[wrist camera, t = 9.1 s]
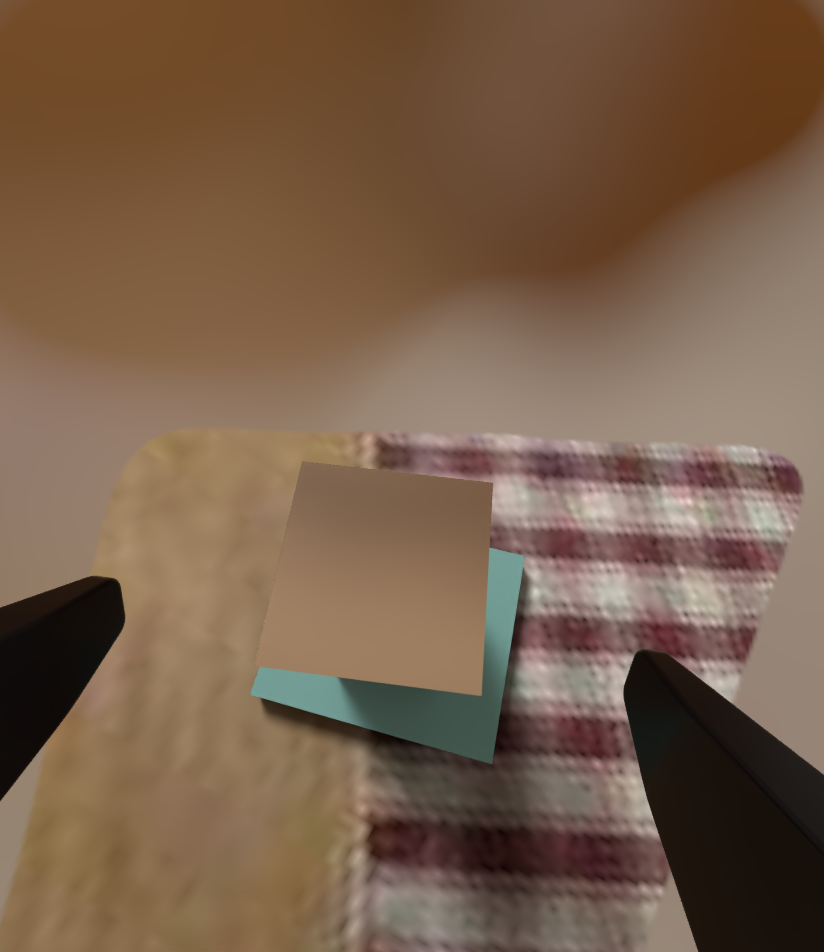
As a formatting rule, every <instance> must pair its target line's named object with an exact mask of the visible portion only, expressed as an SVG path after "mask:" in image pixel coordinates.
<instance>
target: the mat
mask: <svg viewBox="0 0 824 952" xmlns="http://www.w3.org/2000/svg"><path fill="white" fill-rule="evenodd" d="M524 558H525V556H521V555H517V554H513V553H509V552H505V551H501V550H497V549H493V548H489V566H488V584H487V603H486V621H485V640H484V658H483V677H482V695H481V696H478V695H470V694H463V693H455V692H447V691H440V690H432V689H424V688H417V687H409V686H402V685H394V684H386V683H379V682H371V681H363V680H356V679H348V678H341V677H333V676H325V675H318V674H310V673H302V672H295V671H287V670H280V669H272V668H264V667H260V668H259V671H258V674H257V677H256V680H255V683H254V685H253V688H252V691H251V694H250V695H253V696H257V697H260V698H264V699H267V700H271V701H274V702H278V703H281V704H284V705H288V706H291V707H295V708H298V709H302V710H305V711H309V712H312V713H316V714H319V715H323V716H326V717H329V718H333V719H336V720H340V721H343V722H347V723H350V724H354V725H357V726H361V727H364V728H368V729H371V730H375V731H378V732H381V733H385V734H388V735H392V736H395V737H399V738H402V739H406V740H409V741H413V742H416V743H420V744H423V745H426V746H430V747H433V748H437V749H440V750H444V751H447V752H451V753H454V754H458V755H461V756H465V757H468V758H472V759H475V760H478V761H482V762H485V763H489V764H492V761H493V754H494V748H495V742H496V735H497V729H498V723H499V716H500V710H501V704H502V698H503V691H504V685H505V679H506V672H507V666H508V660H509V653H510V647H511V641H512V634H513V628H514V622H515V615H516V609H517V603H518V596H519V590H520V584H521V577H522V571H523V565H524Z"/></svg>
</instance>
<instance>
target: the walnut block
mask: <svg viewBox="0 0 824 952" xmlns="http://www.w3.org/2000/svg"><path fill="white" fill-rule="evenodd" d="M492 492H493V483H489V482H481V481H472V480H463V479H454V478H445V477H436V476H428V475H419V474H410V473H401V472H392V471H383V470H375V469H366V468H357V467H348V466H339V465H331V464H322V463H313V462H304V461H302V464H301V469H300V473H299V477H298V481H297V486H296V490H295V494H294V498H293V502H292V507H291V511H290V515H289V519H288V524H287V528H286V532H285V536H284V541H283V545H282V549H281V553H280V557H279V562H278V566H277V570H276V574H275V579H274V583H273V587H272V591H271V596H270V600H269V604H268V608H267V613H266V617H265V621H264V625H263V629H262V634H261V638H260V642H259V646H258V651H257V655H256V659H255V663H254V666H257V667H264V668H272V669H280V670H287V671H295V672H302V673H310V674H318V675H325V676H333V677H341V678H348V679H356V680H363V681H371V682H379V683H386V684H394V685H402V686H409V687H417V688H424V689H432V690H440V691H447V692H455V693H463V694H470V695H478V696H481V695H482V677H483V658H484V640H485V621H486V603H487V584H488V566H489V547H490V529H491V510H492Z"/></svg>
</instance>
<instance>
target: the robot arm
mask: <svg viewBox="0 0 824 952" xmlns="http://www.w3.org/2000/svg"><path fill="white" fill-rule="evenodd" d="M124 623H125V611H124V604H123V598H122V592H121V586H120V583H119V582H118V580H116V579H114V578H109V577H102V576H89V577H86V578H83V579H81V580H78V581H75V582H72V583H69V584H66V585H64V586H61V587H58V588H55V589H52V590H49V591H46V592H43V593H41V594H38V595H35V596H32V597H29V598H26V599H23V600H21V601H18V602H15V603H12V604H9V605H6V606H3V607H1V608H0V801H1V800H2V798H3V797H4V795H6V793H7V792H8V791H9V789H10V788H11V787H12V786H13V784H14V783H15V782H16V780H17V779H18V778H19V776H20V775H21V774H22V773H23V771H24V770H25V769H26V767H27V766H28V765H29V764H30V762H31V761H32V760H33V758H34V757H35V756H36V754H37V753H38V752H39V751H40V749H41V748H42V747H43V746H44V744H45V743H46V742H47V740H48V739H49V738H50V736H51V735H52V734H53V733H54V731H55V730H56V729H57V727H58V726H59V725H60V723H61V722H62V721H63V719H64V718H65V717H66V715H67V714H68V713H69V711H70V710H71V708H72V707H73V705H74V704H75V702H76V701H77V700H78V698H79V697H80V695H81V693H82V692H83V690H84V689H85V687H86V686H87V684H88V683H89V681H90V679H91V678H92V676H93V675H94V673H95V672H96V670H97V669H98V667H99V665H100V664H101V662H102V661H103V659H104V658H105V656H106V654H107V653H108V651H109V650H110V648H111V647H112V645H113V644H114V642H115V640H116V639H117V637H118V636H119V634H120V633H121V631H122V629H123V626H124ZM623 695H624V702H625V707H626V711H627V715H628V720H629V724H630V728H631V733H632V737H633V741H634V746H635V750H636V754H637V759H638V763H639V767H640V772H641V776H642V780H643V784H644V788H645V792H646V796H647V799H648V802H649V806H650V809H651V812H652V815H653V818H654V821H655V824H656V827H657V830H658V833H659V836H660V839H661V842H662V845H663V848H664V851H665V854H666V857H667V860H668V863H669V866H670V869H671V872H672V875H673V878H674V881H675V884H676V887H677V890H678V893H679V896H680V898H681V902H682V904H683V907H684V911H685V913H686V916H687V919H688V922H689V925H690V928H691V931H692V934H693V937H694V940H695V943H696V946H697V949H698V952H824V775H823V774H822V773H821V772H820V771H818V770H817V769H816V768H814V767H813V766H812V765H811V764H809V763H808V762H807V761H805V760H804V759H803V758H801V757H800V756H799V755H798V754H796V753H795V752H794V751H792V750H791V749H790V748H789V747H787V746H786V745H785V744H783V743H782V742H781V741H779V740H778V739H777V738H776V737H774V736H773V735H772V734H770V733H769V732H768V731H767V730H765V729H764V728H763V727H761V726H760V725H759V724H758V723H756V722H755V721H754V720H752V719H751V718H750V717H749V716H747V715H746V714H745V713H743V712H742V711H741V710H740V709H738V708H737V707H736V706H734V705H733V704H732V703H730V702H729V701H728V700H727V699H725V698H724V697H723V696H721V695H720V694H719V693H718V692H716V691H715V690H714V689H712V688H711V687H710V686H709V685H707V684H706V683H705V682H703V681H702V680H701V679H699V678H698V677H697V676H696V675H694V674H693V673H692V672H690V671H689V670H688V669H687V668H685V667H684V666H683V665H681V664H680V663H679V662H678V661H676V660H675V659H674V658H672V657H671V656H670V655H668V654H667V653H665V652H662V651H656V650H648V649H640V650H638V651H637V652H636V654H635V656H634V659H633V661H632V664H631V667H630V670H629V673H628V676H627V679H626V682H625V685H624V693H623Z"/></svg>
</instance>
